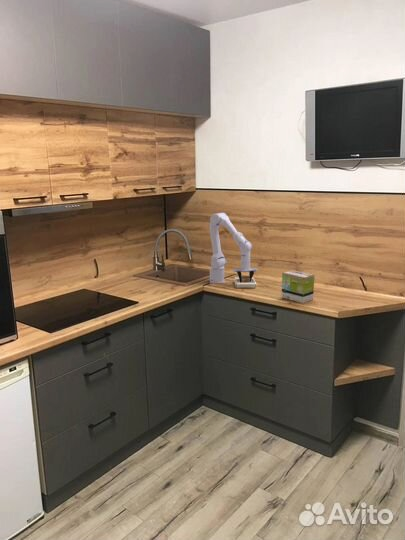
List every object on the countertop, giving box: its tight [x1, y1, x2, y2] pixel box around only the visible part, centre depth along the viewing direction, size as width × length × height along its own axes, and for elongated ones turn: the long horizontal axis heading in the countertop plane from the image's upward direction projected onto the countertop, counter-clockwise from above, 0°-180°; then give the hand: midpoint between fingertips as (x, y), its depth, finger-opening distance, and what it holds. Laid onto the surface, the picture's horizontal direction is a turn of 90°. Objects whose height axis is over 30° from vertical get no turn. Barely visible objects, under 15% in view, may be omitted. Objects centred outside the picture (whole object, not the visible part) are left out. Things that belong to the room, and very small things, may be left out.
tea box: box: [281, 269, 315, 304], centre depth 256 cm, size 15×10×15 cm
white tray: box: [234, 276, 258, 289], centre depth 285 cm, size 12×17×4 cm
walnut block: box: [241, 275, 250, 283], centre depth 285 cm, size 5×8×5 cm, turn 1°
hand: (245, 283), depth 285 cm, fingers closed on walnut block, 5 cm apart
